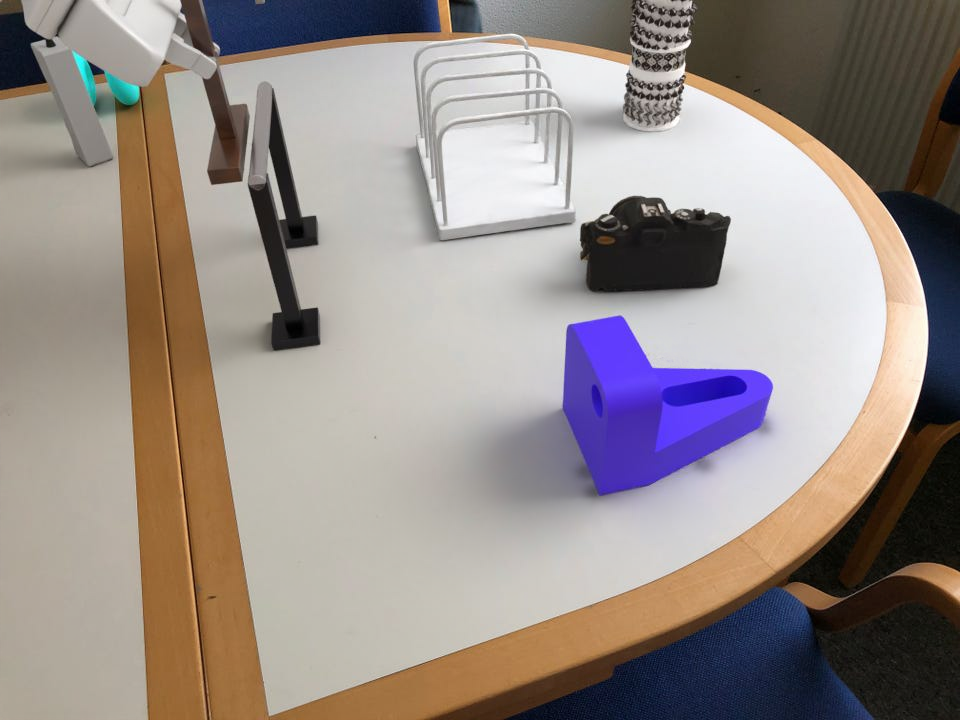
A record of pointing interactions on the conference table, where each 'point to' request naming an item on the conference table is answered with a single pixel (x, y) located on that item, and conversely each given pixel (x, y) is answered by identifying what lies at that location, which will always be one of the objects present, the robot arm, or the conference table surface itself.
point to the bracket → (649, 407)
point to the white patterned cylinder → (657, 63)
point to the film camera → (653, 246)
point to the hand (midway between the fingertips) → (215, 64)
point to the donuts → (118, 87)
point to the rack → (280, 224)
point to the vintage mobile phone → (72, 100)
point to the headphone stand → (219, 106)
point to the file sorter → (492, 155)
